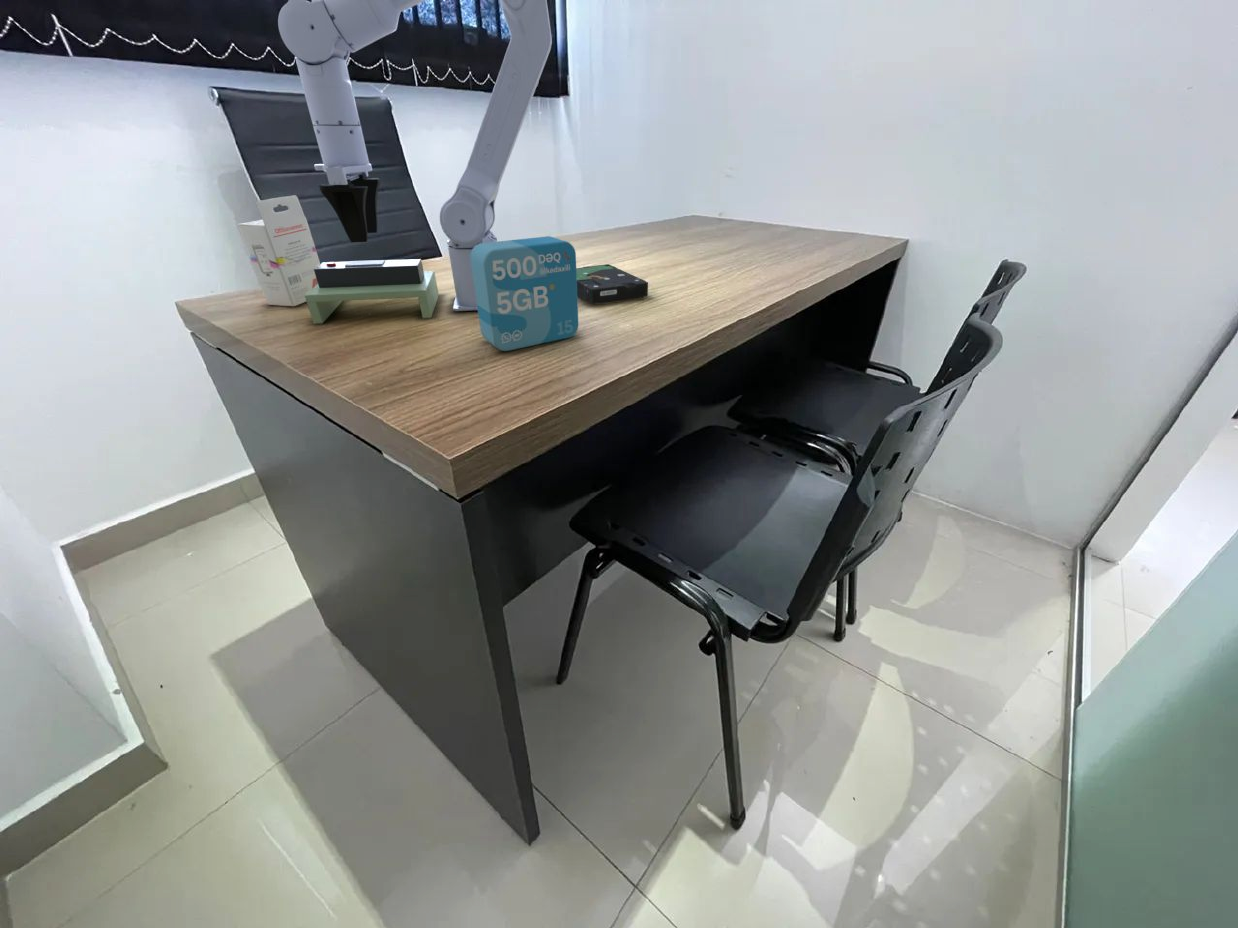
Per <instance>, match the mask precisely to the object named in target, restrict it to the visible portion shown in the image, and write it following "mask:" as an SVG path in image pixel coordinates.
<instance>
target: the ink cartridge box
mask: <svg viewBox="0 0 1238 928" xmlns="http://www.w3.org/2000/svg"><path fill="white" fill-rule="evenodd" d="M279 205H280V206H281V207H284V206H285V207H287V209H285V210H283V211H275V209H274V208H278V207H279ZM255 206H256V208H257V210H258V212H259V214H260V215H259V216H260V217H261V219H259V220H258V219H257V220H253V221H248V222H242V223H237V224H236V225H237V228H238V231H239V233H240V236H241V239H242V241H243V244H244V246H245V249H246V252H247V253H248V256H249V259H250V262H251V264H252V266H253V269H254V273H255V274H256V277H257V280H258V282H259V285H260V287H261V290H262V292H263V295H264V297H265V300H266V303H267V305H268V306H279V307H280V306H281V307H282V306H283V307H297V306H299V305H301V304H304V303H307V302H306V299H305V295H306V294H307V293H308V292H309V291H310V290H311V289H312V288H314V287H315V286H316V285H317V284H318V282H317V279H316V275H315V272H314V269H315V268H316V267H317V266H319V265H320V264H321V261H320V258H319V255H318V252H317V248H316V245H315V242H314V238H313V236H312V233H311V229H310V226H309V223H308V219H307V217H306V216H305V213H304V211H303V208H302V205H301V203H300V200H299V197H298V196H297V195H296V194H293V195H287V196H278V197H272V198H267V199H261V200H256V202H255Z"/></svg>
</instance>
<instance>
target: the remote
mask: <svg viewBox="0 0 1238 928" xmlns="http://www.w3.org/2000/svg"><path fill="white" fill-rule="evenodd" d="M424 271H425V270H424V266H423V261H422V259H421V258H412V259H408V258H407V259H374V260H373V259H371V260H349V261H323V262H320V265H319V266H317V267H316V268H315V269H314V272H315V275H316V279H317V282H318V285H319V288H331V287H355V286H379V285H403V284H421V282H422V280H423V278H424Z"/></svg>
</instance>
